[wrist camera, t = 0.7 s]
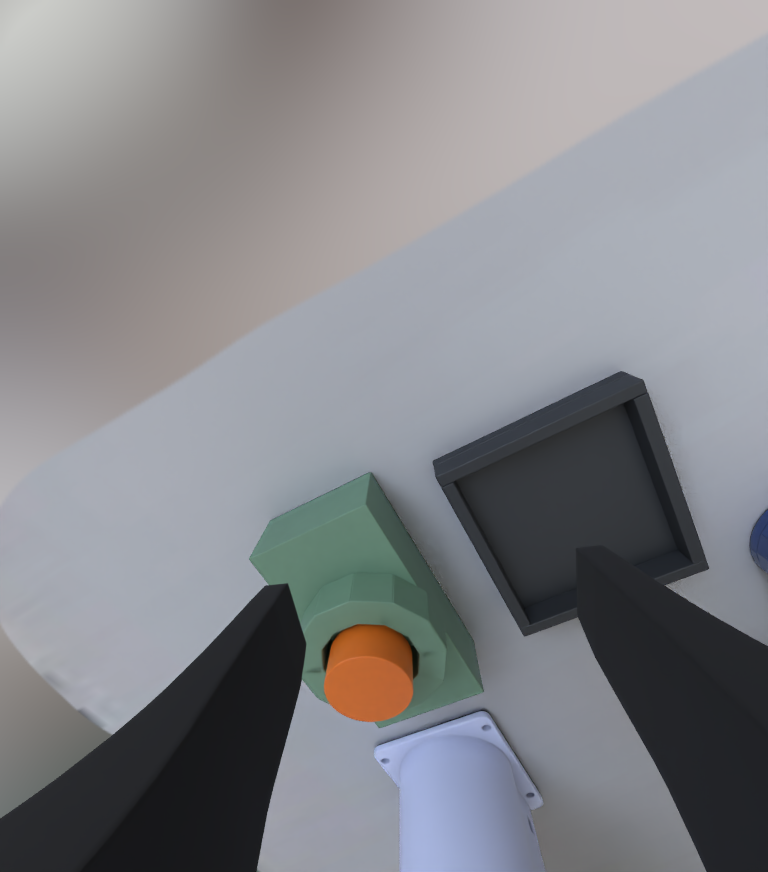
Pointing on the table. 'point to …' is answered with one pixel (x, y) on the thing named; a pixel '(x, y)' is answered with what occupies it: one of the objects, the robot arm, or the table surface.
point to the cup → (760, 542)
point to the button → (369, 673)
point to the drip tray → (572, 498)
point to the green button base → (367, 590)
